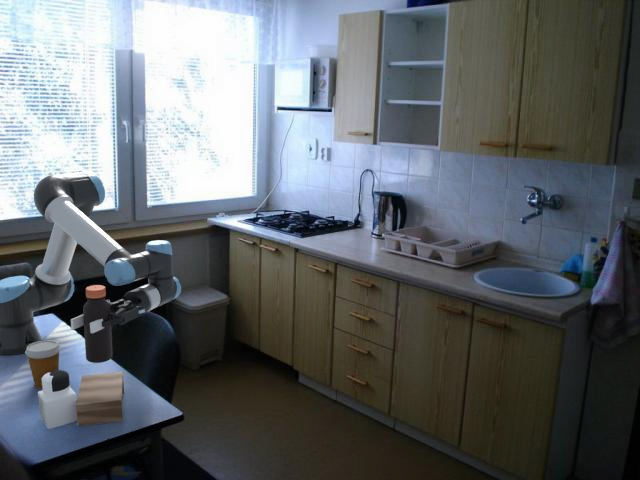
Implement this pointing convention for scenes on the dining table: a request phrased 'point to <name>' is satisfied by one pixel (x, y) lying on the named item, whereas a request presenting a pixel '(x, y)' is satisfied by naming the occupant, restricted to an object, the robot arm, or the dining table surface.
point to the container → (57, 400)
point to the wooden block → (100, 399)
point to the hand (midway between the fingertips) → (81, 326)
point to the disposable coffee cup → (43, 359)
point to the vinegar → (101, 340)
